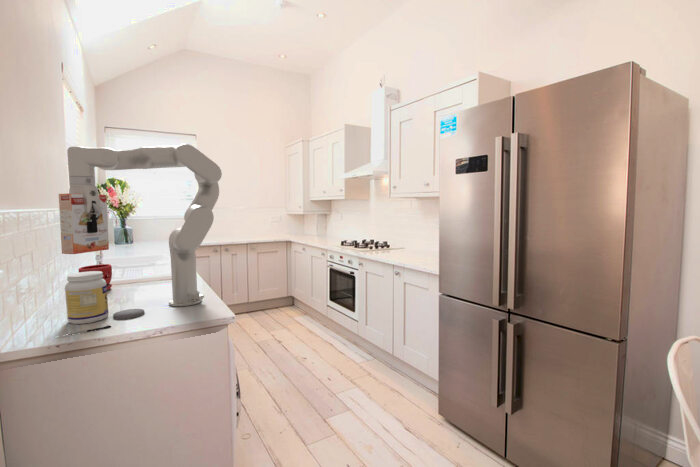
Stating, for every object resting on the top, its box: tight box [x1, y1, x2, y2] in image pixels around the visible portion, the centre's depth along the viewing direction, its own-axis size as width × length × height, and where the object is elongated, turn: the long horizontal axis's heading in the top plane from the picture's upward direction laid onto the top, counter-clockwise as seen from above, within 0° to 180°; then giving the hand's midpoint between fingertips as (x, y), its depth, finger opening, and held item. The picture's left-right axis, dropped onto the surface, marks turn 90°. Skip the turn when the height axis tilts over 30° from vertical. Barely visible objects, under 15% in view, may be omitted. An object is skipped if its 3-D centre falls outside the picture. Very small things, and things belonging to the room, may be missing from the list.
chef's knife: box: [67, 324, 112, 336], centre depth 119 cm, size 19×1×3 cm
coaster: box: [112, 308, 145, 321], centre depth 137 cm, size 10×10×1 cm
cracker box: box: [58, 193, 110, 255], centre depth 131 cm, size 14×6×21 cm, turn 167°
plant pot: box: [78, 263, 113, 291], centre depth 175 cm, size 13×13×12 cm
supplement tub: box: [64, 271, 109, 325], centre depth 131 cm, size 12×12×17 cm
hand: (85, 232), depth 131 cm, fingers closed on cracker box, 6 cm apart
